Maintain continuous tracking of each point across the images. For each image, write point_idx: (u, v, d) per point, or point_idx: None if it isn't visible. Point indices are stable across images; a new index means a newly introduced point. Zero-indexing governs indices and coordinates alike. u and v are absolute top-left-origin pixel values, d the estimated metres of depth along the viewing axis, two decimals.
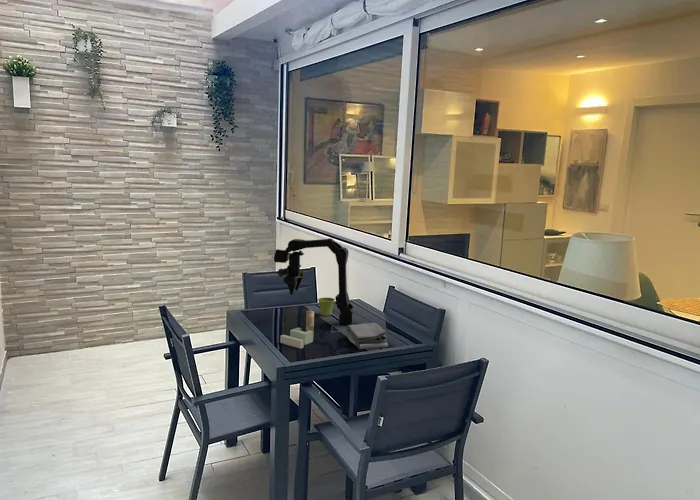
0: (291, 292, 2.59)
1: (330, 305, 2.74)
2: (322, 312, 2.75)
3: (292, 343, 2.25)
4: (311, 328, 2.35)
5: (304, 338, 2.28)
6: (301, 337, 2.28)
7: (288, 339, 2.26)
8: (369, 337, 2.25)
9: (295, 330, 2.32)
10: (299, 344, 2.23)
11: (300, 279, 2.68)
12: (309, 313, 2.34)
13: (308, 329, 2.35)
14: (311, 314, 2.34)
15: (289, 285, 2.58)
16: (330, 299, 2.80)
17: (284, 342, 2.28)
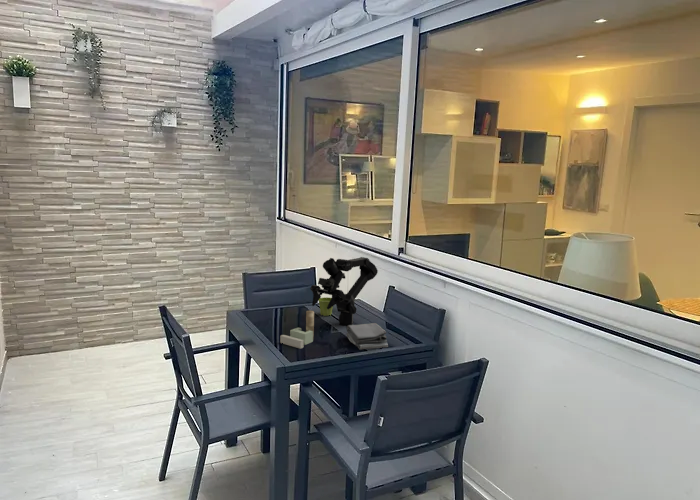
0: (329, 306, 2.40)
1: None
2: (322, 312, 2.75)
3: (292, 343, 2.25)
4: (311, 328, 2.35)
5: (304, 338, 2.28)
6: (301, 337, 2.28)
7: (288, 339, 2.26)
8: (369, 337, 2.25)
9: (295, 330, 2.32)
10: (299, 344, 2.23)
11: (319, 297, 2.49)
12: (309, 313, 2.34)
13: (308, 329, 2.35)
14: (311, 314, 2.34)
15: (334, 299, 2.40)
16: (330, 299, 2.80)
17: (284, 342, 2.28)
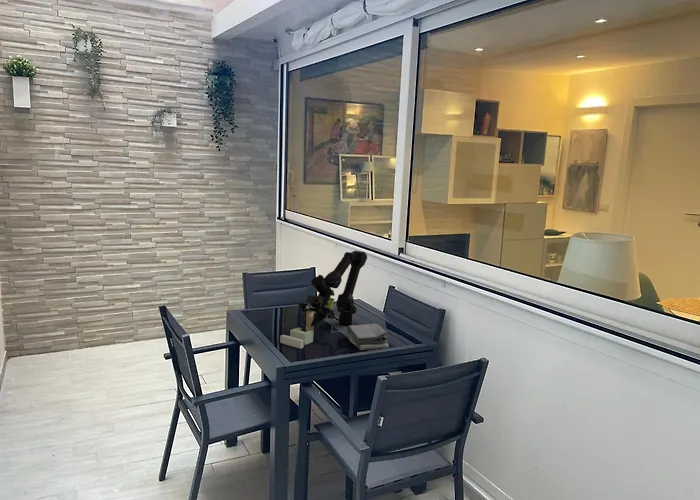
0: (313, 324, 2.34)
1: (330, 305, 2.74)
2: None
3: (292, 343, 2.25)
4: (311, 328, 2.35)
5: (304, 338, 2.28)
6: (301, 337, 2.28)
7: (288, 339, 2.26)
8: (370, 338, 2.24)
9: (295, 330, 2.32)
10: (299, 344, 2.23)
11: None
12: (309, 313, 2.34)
13: (308, 329, 2.35)
14: (311, 314, 2.34)
15: (318, 316, 2.35)
16: (330, 299, 2.80)
17: (284, 342, 2.28)
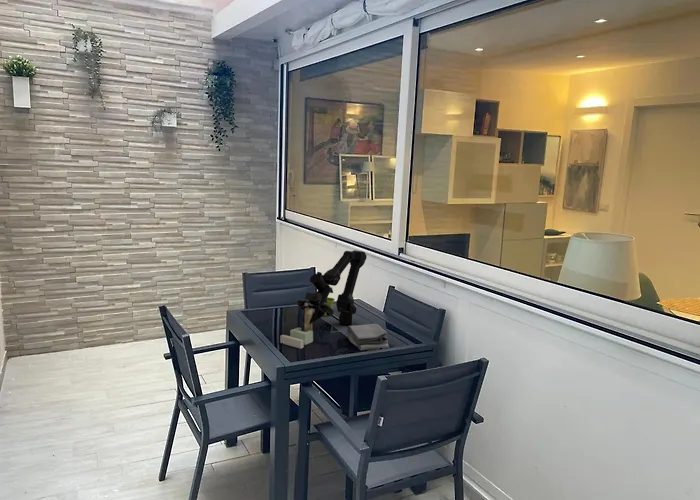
0: (312, 321, 2.33)
1: (330, 305, 2.74)
2: None
3: (292, 343, 2.25)
4: (310, 325, 2.34)
5: (304, 338, 2.28)
6: (301, 337, 2.28)
7: (288, 339, 2.26)
8: (370, 338, 2.24)
9: (295, 330, 2.32)
10: (299, 344, 2.23)
11: None
12: (308, 310, 2.33)
13: (307, 326, 2.34)
14: (310, 311, 2.33)
15: (316, 314, 2.34)
16: (330, 299, 2.80)
17: (284, 342, 2.28)
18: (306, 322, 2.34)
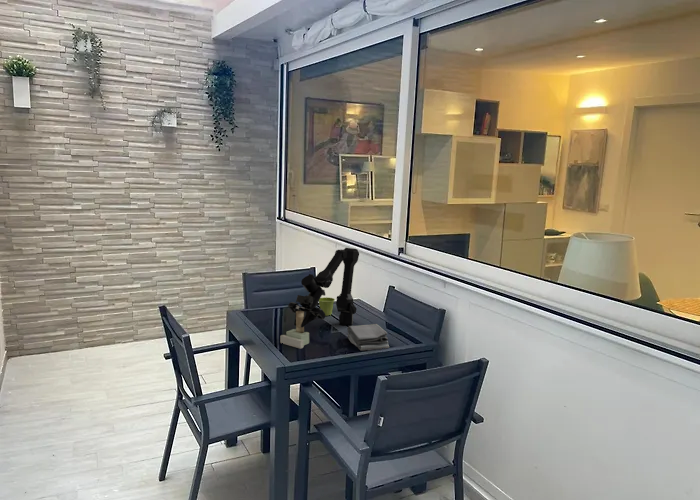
0: (303, 324, 2.28)
1: (330, 305, 2.74)
2: None
3: (292, 343, 2.25)
4: (301, 329, 2.29)
5: None
6: None
7: (288, 339, 2.26)
8: (370, 338, 2.24)
9: (291, 331, 2.30)
10: (299, 344, 2.23)
11: None
12: (299, 313, 2.28)
13: (298, 330, 2.29)
14: (301, 314, 2.28)
15: (308, 317, 2.29)
16: (330, 299, 2.80)
17: (284, 342, 2.28)
18: (297, 325, 2.29)
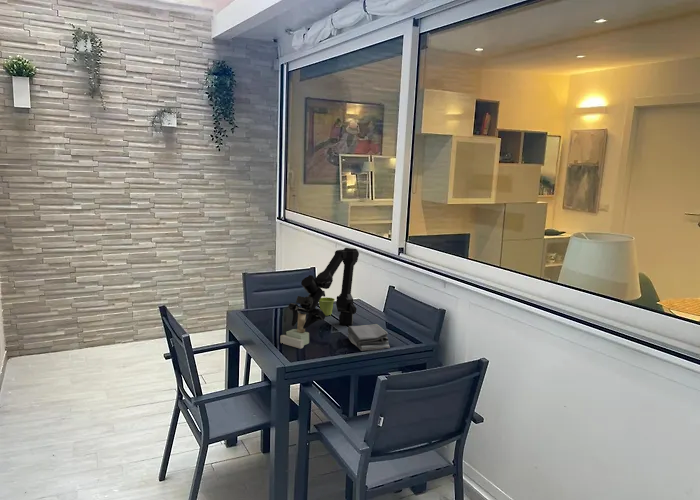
0: (306, 326, 2.28)
1: (330, 305, 2.74)
2: None
3: (292, 343, 2.25)
4: (302, 331, 2.30)
5: None
6: None
7: (288, 339, 2.26)
8: (371, 339, 2.23)
9: (291, 331, 2.30)
10: (299, 344, 2.23)
11: None
12: (301, 316, 2.29)
13: (299, 332, 2.30)
14: (303, 317, 2.29)
15: (310, 318, 2.28)
16: (330, 299, 2.80)
17: (284, 342, 2.28)
18: (299, 328, 2.29)
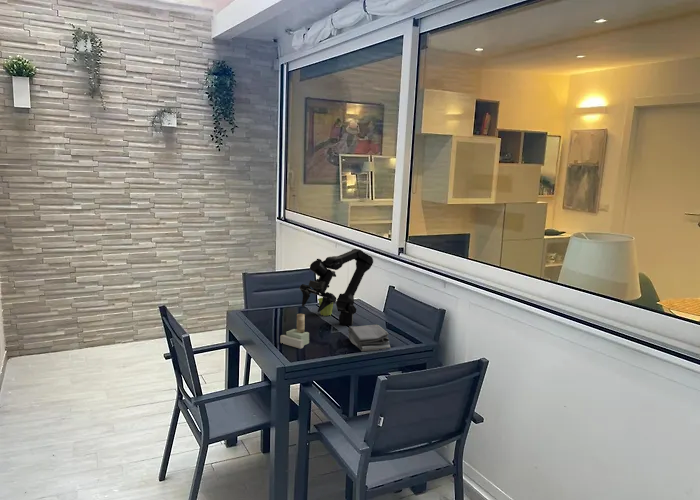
0: (320, 310, 2.38)
1: (330, 305, 2.74)
2: (322, 312, 2.75)
3: (292, 343, 2.25)
4: (302, 332, 2.29)
5: None
6: None
7: (288, 339, 2.26)
8: (371, 339, 2.23)
9: (291, 331, 2.30)
10: (299, 344, 2.23)
11: (308, 296, 2.46)
12: (299, 316, 2.28)
13: None
14: (301, 317, 2.28)
15: (324, 302, 2.38)
16: None
17: (284, 342, 2.28)
18: (298, 328, 2.29)
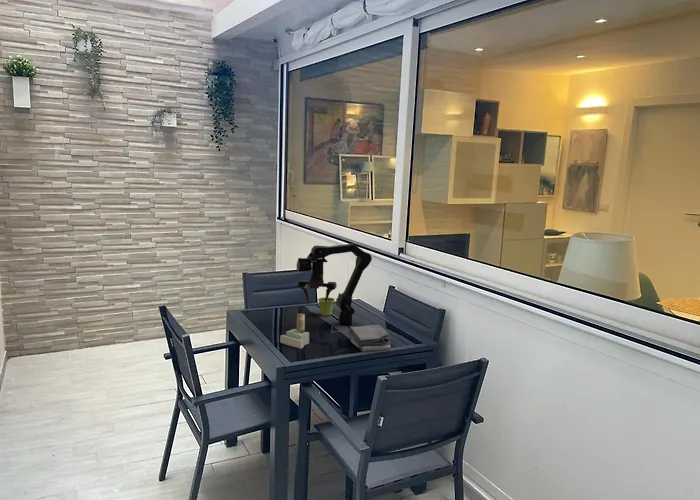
0: None
1: (330, 305, 2.74)
2: (322, 312, 2.75)
3: (292, 343, 2.25)
4: (302, 332, 2.29)
5: None
6: None
7: (288, 339, 2.26)
8: (372, 339, 2.22)
9: (291, 331, 2.30)
10: (299, 344, 2.23)
11: (308, 287, 2.56)
12: (299, 316, 2.28)
13: None
14: (302, 317, 2.28)
15: None
16: (330, 299, 2.80)
17: (284, 342, 2.28)
18: (298, 328, 2.29)
